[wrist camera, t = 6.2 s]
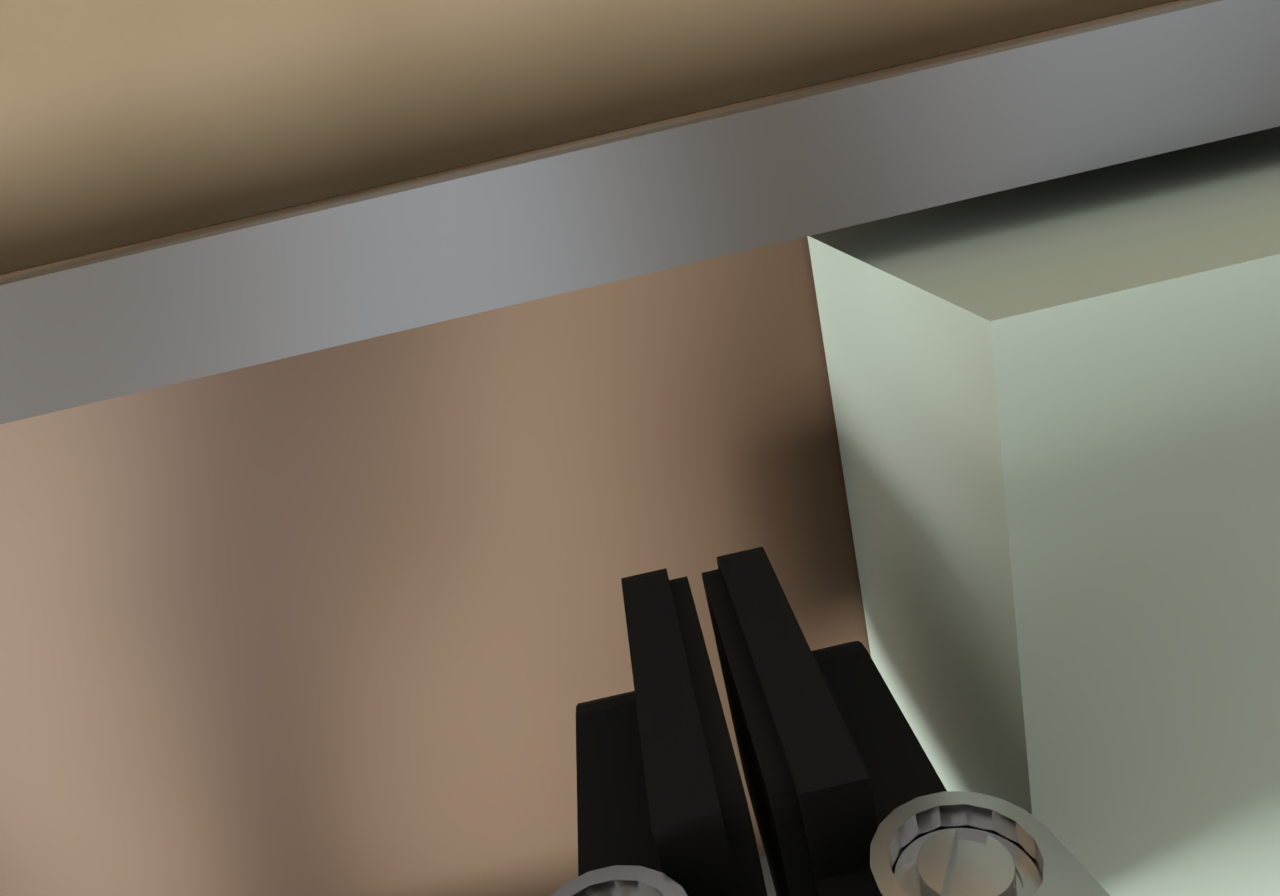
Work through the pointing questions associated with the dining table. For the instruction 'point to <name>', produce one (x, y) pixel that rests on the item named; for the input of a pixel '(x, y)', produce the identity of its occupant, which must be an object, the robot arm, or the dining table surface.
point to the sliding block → (1079, 500)
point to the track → (471, 462)
